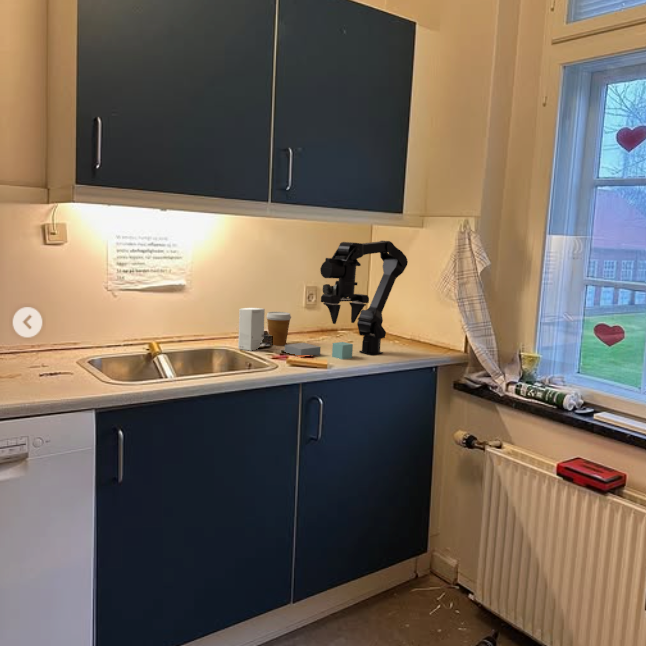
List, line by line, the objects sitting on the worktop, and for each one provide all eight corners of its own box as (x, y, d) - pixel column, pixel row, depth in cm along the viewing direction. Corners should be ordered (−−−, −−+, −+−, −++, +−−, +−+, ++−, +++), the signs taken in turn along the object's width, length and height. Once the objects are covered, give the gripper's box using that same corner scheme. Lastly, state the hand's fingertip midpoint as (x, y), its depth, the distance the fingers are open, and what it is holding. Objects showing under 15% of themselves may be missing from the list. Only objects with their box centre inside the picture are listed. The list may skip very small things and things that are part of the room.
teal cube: (342, 355, 224) (342, 341, 224) (352, 358, 221) (352, 344, 220) (332, 357, 221) (332, 343, 220) (341, 359, 217) (342, 345, 217)
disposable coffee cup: (292, 343, 243) (293, 312, 241) (286, 347, 234) (288, 315, 232) (268, 341, 245) (269, 310, 243) (262, 345, 235) (263, 313, 234)
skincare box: (250, 351, 223) (252, 310, 221) (237, 349, 226) (238, 308, 224) (264, 348, 230) (265, 308, 228) (250, 346, 233) (252, 306, 231)
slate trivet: (303, 350, 229) (303, 342, 229) (320, 355, 223) (320, 346, 222) (284, 353, 223) (284, 344, 223) (300, 357, 216) (301, 349, 216)
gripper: (349, 277, 229) (345, 319, 231) (311, 276, 216) (308, 321, 218) (371, 279, 221) (368, 323, 223) (333, 279, 208) (330, 325, 210)
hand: (343, 323), depth 219 cm, fingers open, 9 cm apart
